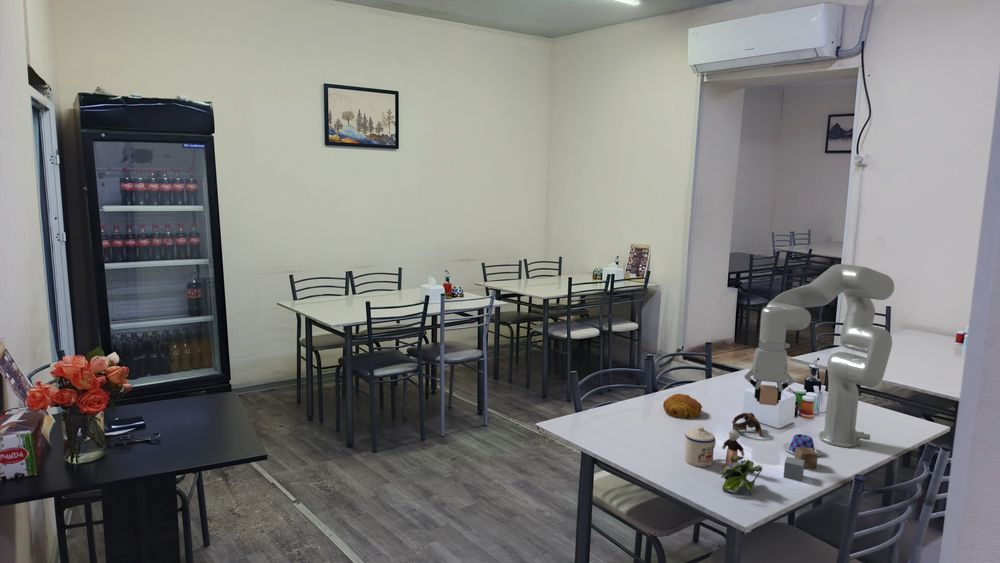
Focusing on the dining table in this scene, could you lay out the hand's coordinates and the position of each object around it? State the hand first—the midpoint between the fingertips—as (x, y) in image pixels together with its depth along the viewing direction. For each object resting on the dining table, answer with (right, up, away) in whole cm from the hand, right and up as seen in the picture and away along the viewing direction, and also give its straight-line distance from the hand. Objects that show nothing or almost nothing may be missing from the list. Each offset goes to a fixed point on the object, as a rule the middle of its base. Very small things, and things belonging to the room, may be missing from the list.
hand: (767, 400), depth 204 cm
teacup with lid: (-20, -20, +2) cm, 29 cm away
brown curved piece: (+4, -17, +27) cm, 32 cm away
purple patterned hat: (+17, -20, +12) cm, 28 cm away
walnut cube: (+12, -21, 0) cm, 24 cm away
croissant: (-14, -14, +47) cm, 51 cm away
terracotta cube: (0, -1, 0) cm, 1 cm away
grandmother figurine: (-12, -21, -3) cm, 25 cm away
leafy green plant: (-15, -23, -17) cm, 32 cm away
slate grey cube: (+5, -22, -8) cm, 24 cm away
